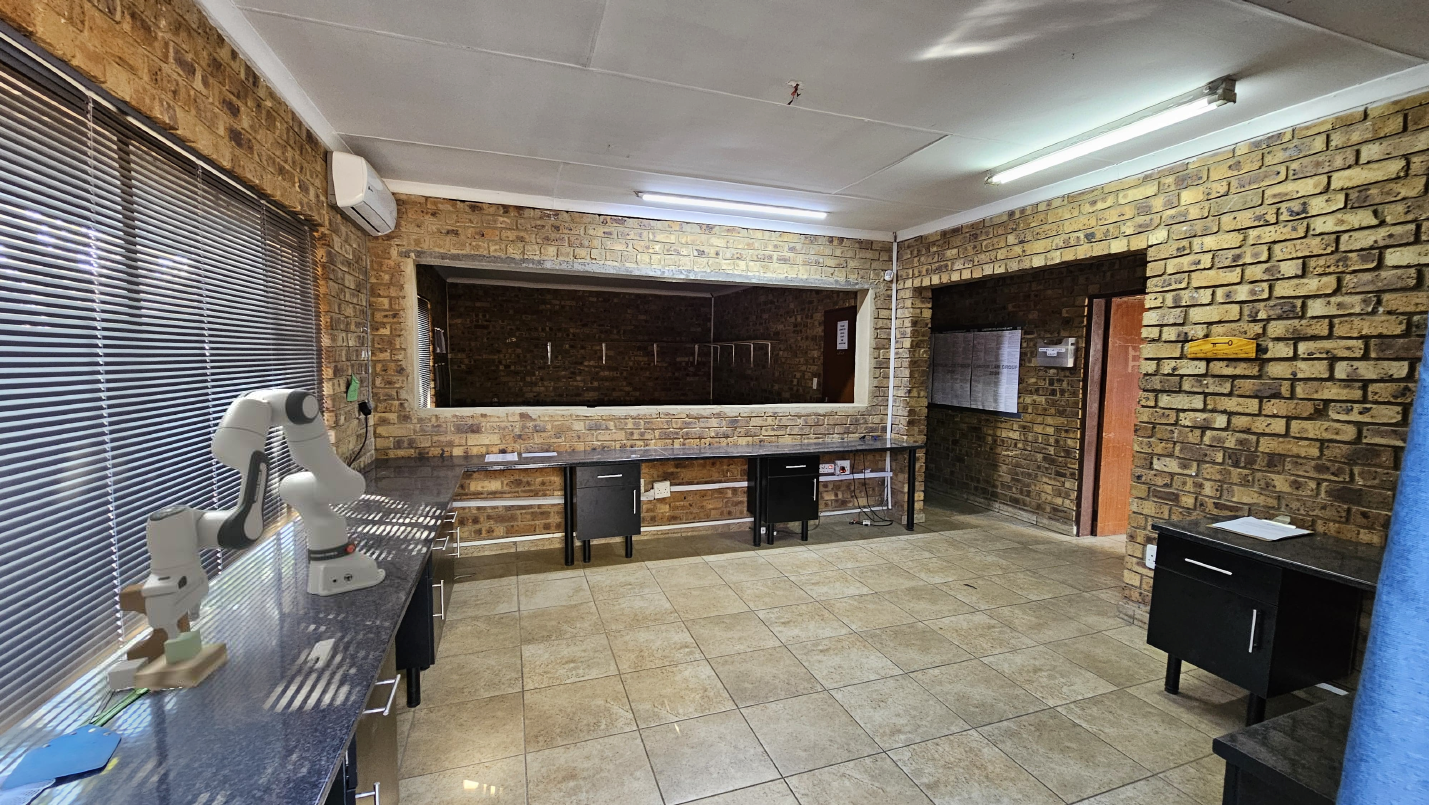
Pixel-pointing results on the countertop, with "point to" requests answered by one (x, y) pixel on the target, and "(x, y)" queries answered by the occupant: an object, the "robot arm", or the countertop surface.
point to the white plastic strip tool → (321, 652)
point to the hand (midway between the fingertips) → (184, 628)
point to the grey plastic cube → (125, 673)
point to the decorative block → (155, 643)
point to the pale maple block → (181, 669)
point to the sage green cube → (183, 647)
